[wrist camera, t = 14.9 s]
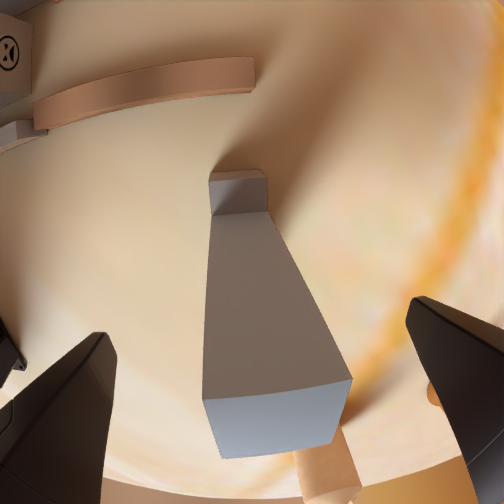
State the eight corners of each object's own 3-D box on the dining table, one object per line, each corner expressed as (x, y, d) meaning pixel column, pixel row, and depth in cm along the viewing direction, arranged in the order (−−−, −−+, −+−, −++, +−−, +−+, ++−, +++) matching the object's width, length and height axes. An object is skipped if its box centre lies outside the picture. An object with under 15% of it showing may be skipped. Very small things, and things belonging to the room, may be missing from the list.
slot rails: (53, 128, 12) (34, 130, 10) (59, -14, 8) (44, -24, 6) (250, 92, 13) (255, 87, 11) (240, -54, 9) (243, -72, 7)
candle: (297, 417, 24) (321, 507, 15) (346, 413, 25) (377, 492, 16) (282, 443, 26) (298, 520, 17) (327, 439, 27) (349, 509, 18)
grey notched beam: (220, 269, 17) (229, 479, 6) (210, 172, 14) (182, 328, 3) (263, 266, 17) (321, 466, 6) (259, 168, 15) (371, 305, 4)
